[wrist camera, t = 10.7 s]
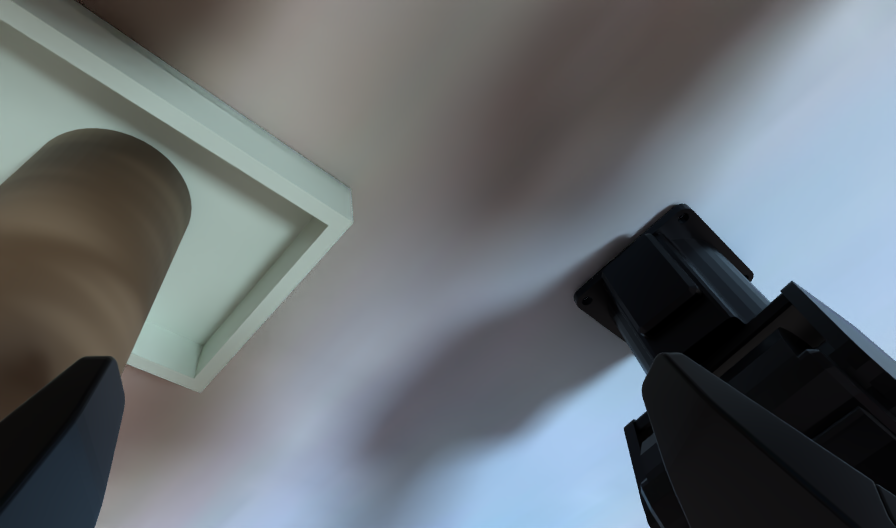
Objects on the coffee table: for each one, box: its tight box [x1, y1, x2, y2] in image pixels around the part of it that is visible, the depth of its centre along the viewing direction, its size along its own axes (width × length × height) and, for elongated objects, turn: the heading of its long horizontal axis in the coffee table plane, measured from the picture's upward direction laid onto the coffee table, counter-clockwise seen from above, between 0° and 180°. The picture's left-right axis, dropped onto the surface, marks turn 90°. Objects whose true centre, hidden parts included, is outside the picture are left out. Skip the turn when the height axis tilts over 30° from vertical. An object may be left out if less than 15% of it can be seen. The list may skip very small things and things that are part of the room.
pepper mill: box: [0, 128, 192, 421], centre depth 14 cm, size 5×5×15 cm
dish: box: [0, 0, 353, 393], centre depth 19 cm, size 13×10×2 cm
